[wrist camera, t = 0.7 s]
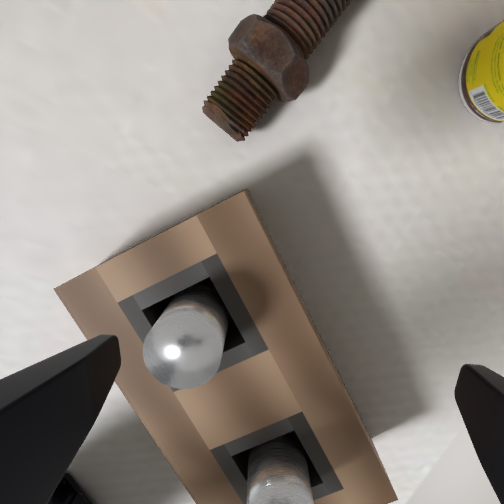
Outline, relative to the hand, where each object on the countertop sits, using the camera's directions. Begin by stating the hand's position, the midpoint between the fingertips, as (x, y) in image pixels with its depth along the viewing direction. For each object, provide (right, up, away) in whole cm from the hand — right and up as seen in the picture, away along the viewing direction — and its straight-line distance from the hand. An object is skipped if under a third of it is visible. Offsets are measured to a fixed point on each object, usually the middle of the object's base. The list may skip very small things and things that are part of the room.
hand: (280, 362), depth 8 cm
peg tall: (+1, -11, +13) cm, 17 cm away
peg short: (-4, -1, +12) cm, 12 cm away
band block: (-2, -5, +16) cm, 17 cm away
